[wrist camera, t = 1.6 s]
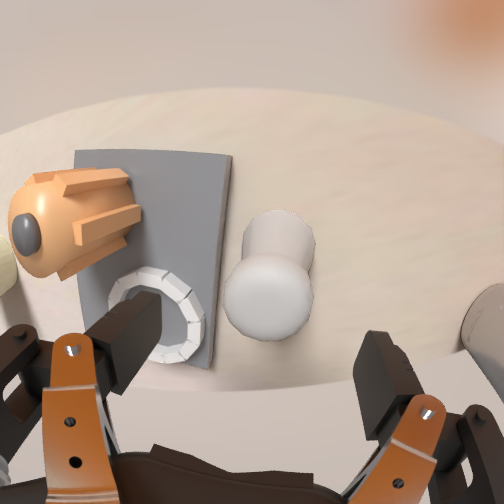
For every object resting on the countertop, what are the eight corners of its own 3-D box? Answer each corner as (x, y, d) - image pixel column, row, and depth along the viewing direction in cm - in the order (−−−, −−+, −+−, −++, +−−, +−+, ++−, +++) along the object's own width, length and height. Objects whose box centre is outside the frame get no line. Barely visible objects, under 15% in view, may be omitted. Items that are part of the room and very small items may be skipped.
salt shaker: (326, 241, 24) (357, 316, 12) (278, 282, 26) (263, 379, 13) (281, 191, 23) (268, 217, 11) (233, 235, 25) (177, 302, 13)
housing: (232, 155, 23) (169, 145, 11) (212, 358, 29) (173, 449, 17) (87, 150, 24) (-11, 155, 12) (94, 323, 31) (31, 380, 19)
